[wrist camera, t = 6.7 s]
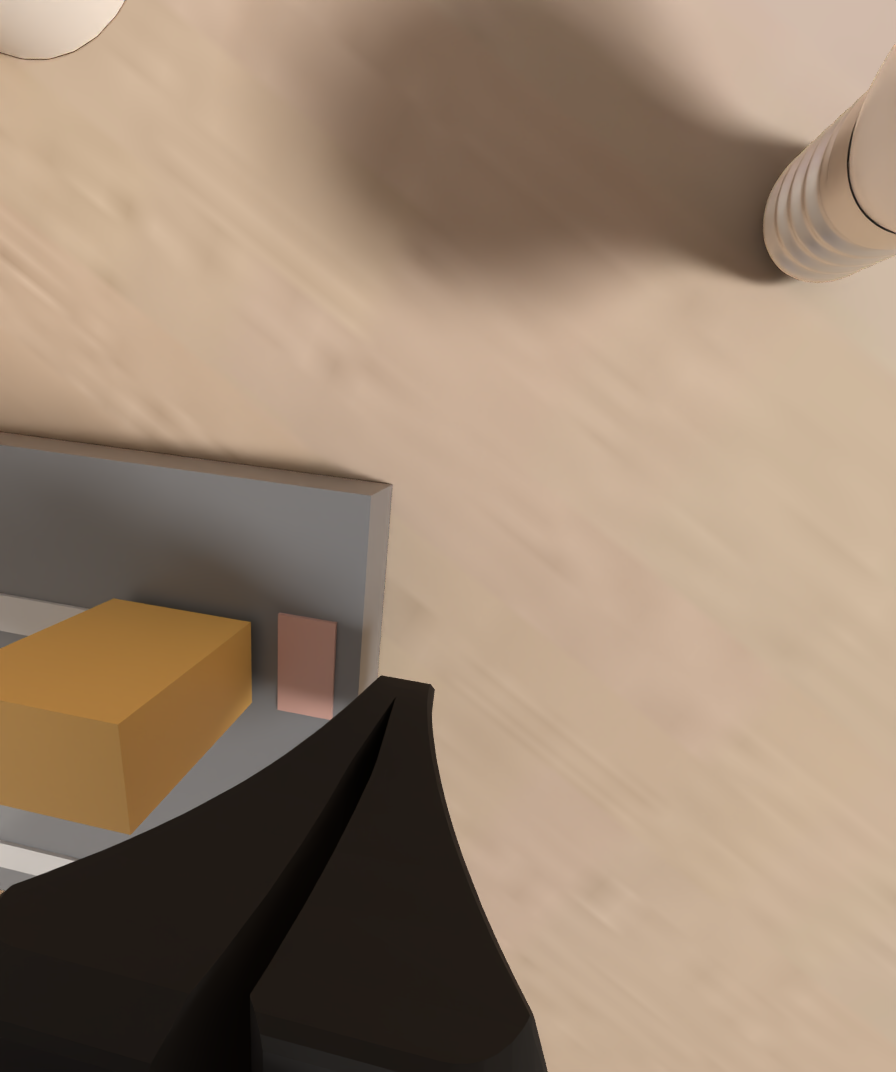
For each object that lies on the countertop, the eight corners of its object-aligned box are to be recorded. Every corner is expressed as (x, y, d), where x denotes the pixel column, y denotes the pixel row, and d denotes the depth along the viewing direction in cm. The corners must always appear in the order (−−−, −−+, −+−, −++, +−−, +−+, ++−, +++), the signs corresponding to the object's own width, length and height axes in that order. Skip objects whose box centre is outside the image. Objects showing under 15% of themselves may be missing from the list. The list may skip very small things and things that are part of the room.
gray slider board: (359, 912, 17) (339, 979, 15) (-157, 789, 19) (-236, 832, 17) (392, 484, 12) (369, 496, 10) (-290, 393, 14) (-419, 387, 12)
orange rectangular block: (251, 702, 12) (130, 834, 8) (122, 677, 12) (-54, 792, 8) (250, 622, 11) (118, 724, 7) (113, 598, 12) (-80, 683, 8)
